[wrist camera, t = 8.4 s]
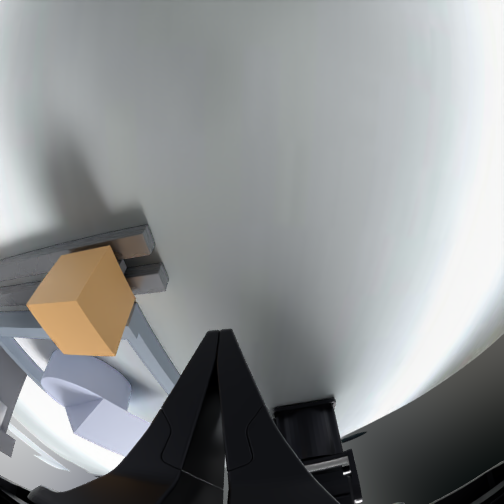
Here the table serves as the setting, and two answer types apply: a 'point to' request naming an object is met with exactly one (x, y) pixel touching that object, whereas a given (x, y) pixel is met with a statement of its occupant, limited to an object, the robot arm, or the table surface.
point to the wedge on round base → (94, 400)
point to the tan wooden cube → (84, 302)
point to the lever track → (121, 242)
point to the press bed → (20, 365)
